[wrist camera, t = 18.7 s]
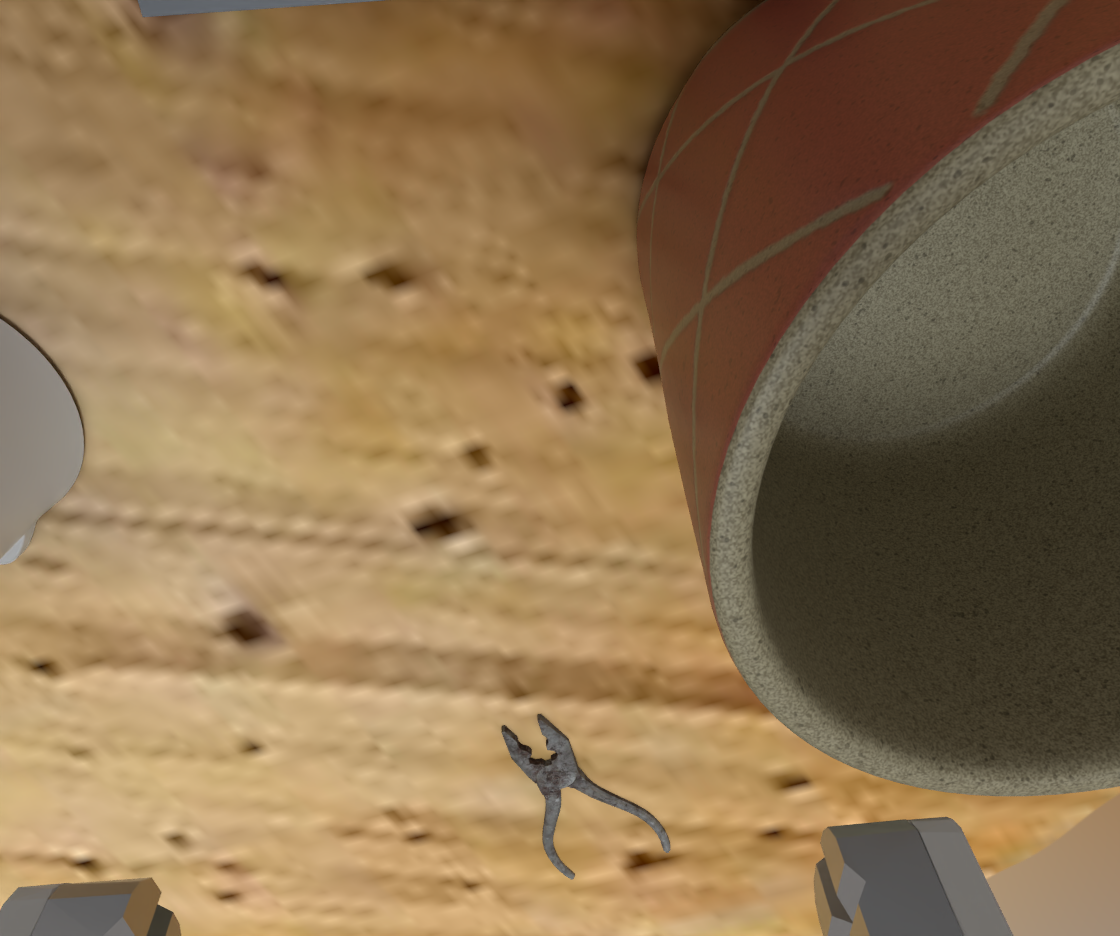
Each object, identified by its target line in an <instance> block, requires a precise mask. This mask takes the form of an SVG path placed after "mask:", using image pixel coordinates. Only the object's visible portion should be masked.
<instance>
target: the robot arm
mask: <svg viewBox="0 0 1120 936" xmlns="http://www.w3.org/2000/svg"><path fill="white" fill-rule="evenodd" d="M83 455H84V436H83V429H82V424H81V420H80V417H79V413H78V410H77V408H76V405H75V403H74V401H73V399H72V396H71V394H70V392H69V391H68V389H67V387H66V385H65V384H64V382H63V381H62V379H61V378H60V376H59V375H58V373H57V372H56V371H55V369H54V368H53V367H52V365H51V364H50V363H49V362H48V361H47V359H46V358H45V357H44V356H43V355H42V354H41V353H40V352H39V351H38V350H37V349H36V348H35V347H34V346H33V345H32V344H31V343H30V342H29V341H28V340H27V339H26V338H25V337H23V336H22V335H21V334H20V333H19V332H17V331H16V330H15V329H14V328H12V327H11V326H10V325H8V324H7V323H6V322H4V321H3V320H1V319H0V564H9V563H11V562H13V561H15V560H16V559H17V558H18V557H19V556H20V555H21V554H22V553H23V552H24V551H25V550H26V548H27V547H28V545H29V543H30V541H31V539H32V535H33V532H34V529H35V525H36V522H37V520H38V519H39V518H40V517H41V516H42V515H43V514H44V513H45V512H47V511H48V510H49V509H50V508H51V507H52V506H54V505H55V504H56V503H57V502H58V501H60V500H61V499H62V498H63V497H64V496H65V495H66V493H67V492H68V491H69V490H70V488H71V487H72V485H73V484H74V482H75V480H76V479H77V476H78V474H79V471H80V469H81V465H82V461H83ZM820 844H821V847H822V850H823V853H824V858H823V859H822V860H821V861H819V862H818V863H817V864H816V868H815V875H814V892H815V904H816V908H817V913H818V918H819V923H820V926H821V930H822V933H823V936H1013V934H1012V932H1011V930H1010V928H1009V926H1008V924H1007V921H1006V920H1005V918H1004V915H1003V913H1002V911H1001V909H1000V907H999V905H998V903H997V901H996V899H995V897H994V895H993V893H992V891H991V889H990V887H989V885H988V883H987V880H986V878H985V876H984V874H983V872H982V870H981V868H980V866H979V864H978V862H977V860H976V858H975V856H974V854H973V852H972V850H971V848H970V846H969V843H968V841H967V839H966V837H965V835H964V833H963V831H962V829H961V827H960V826H959V825H958V824H957V823H956V822H955V821H954V820H953V819H951V818H948V817H939V818H926V819H914V820H895V821H885V822H874V823H864V824H853V825H843V826H832V827H827V828H826V829H824V830H823V833H822V837H821V842H820ZM160 895H161V891H160V889H159V888H158V886H157V885H156V883H155V882H154V880H153V879H152V878H139V879H126V880H112V881H99V882H86V883H63V884H51V885H40V886H29V887H18V888H17V890H16V891H15V892H14V893H13V894H12V895H11V896H10V897H9V898H8V900H7V901H6V902H5V903H4V904H3V906H2V908H1V910H0V936H181V930H180V925H179V922H178V920H177V918H176V917H175V915H174V913H173V912H172V911H170V910H168V909H166V908H164V907H162V906H160V905H158V901H159V898H160Z"/></svg>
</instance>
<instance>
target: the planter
mask: <svg viewBox="0 0 1120 936" xmlns="http://www.w3.org/2000/svg"><path fill="white" fill-rule="evenodd" d="M637 252H638V264H639V272H640V279H641V283H642V288H643V293H644V297H645V301H646V305H647V310H648V314H649V318H650V323H651V328H652V333H653V338H654V343H655V348H656V353H657V357H658V363H659V369H660V374H661V380H662V386H663V391H664V397H665V403H666V408H667V414H668V420H669V424H670V429H671V433H672V438H673V442H674V447H675V451H676V456H677V460H678V465H679V469H680V473H681V478H682V482H683V487H684V491H685V495H686V500H687V504H688V508H689V512H690V516H691V521H692V525H693V529H694V533H695V537H696V541H697V546H698V550H699V554H700V558H701V562H702V566H703V571H704V575H705V580H706V584H707V589H708V593H709V597H710V602H711V606H712V610H713V613H714V616H715V619H716V622H717V625H718V627H719V630H720V633H721V636H722V639H723V641H724V643H725V646H726V648H727V650H728V652H729V654H730V656H731V658H732V660H733V662H734V664H735V665H736V667H737V669H738V670H739V672H740V674H741V675H742V677H743V679H744V680H745V681H746V683H747V684H748V686H749V687H750V688H751V689H752V691H753V692H754V693H755V695H756V696H757V697H758V699H759V700H760V701H761V702H762V703H763V704H764V706H765V707H766V708H767V709H768V710H769V711H770V712H771V713H772V714H773V715H774V716H775V717H776V718H777V719H778V720H779V721H780V722H782V723H783V724H784V725H785V726H786V727H787V728H789V729H790V730H791V731H792V732H793V733H795V734H796V735H797V736H799V737H800V738H802V739H803V740H804V741H806V742H807V743H809V744H810V745H812V746H813V747H815V748H817V749H818V750H820V751H822V752H823V753H825V754H827V755H829V756H830V757H832V758H834V759H836V760H838V761H841V762H843V763H845V764H847V765H849V766H851V767H853V768H856V769H859V770H861V771H864V772H867V773H869V774H872V775H874V776H878V777H881V778H884V779H888V780H891V781H894V782H898V783H902V784H906V785H910V786H915V787H919V788H924V789H930V790H936V791H943V792H950V793H959V794H969V795H985V796H1038V795H1056V794H1066V793H1075V792H1085V791H1092V790H1099V789H1105V788H1112V787H1118V786H1120V0H765V1H763V2H762V3H760V4H759V5H757V6H756V7H755V8H753V9H752V10H751V11H749V12H748V13H747V14H745V15H744V16H743V17H742V18H741V19H739V20H738V21H737V22H736V23H735V24H734V25H732V26H731V27H730V28H729V29H728V30H727V31H726V32H725V33H724V34H723V35H722V36H721V37H720V38H719V39H718V40H717V41H716V42H715V43H714V45H713V46H712V47H711V48H710V49H709V50H708V51H707V53H706V54H705V55H704V57H703V58H702V60H701V61H700V62H699V64H698V66H697V67H696V69H695V70H694V72H693V73H692V75H691V76H690V78H689V80H688V81H687V83H686V84H685V86H684V88H683V89H682V91H681V93H680V94H679V96H678V98H677V99H676V101H675V103H674V105H673V106H672V108H671V110H670V112H669V114H668V116H667V118H666V120H665V122H664V124H663V126H662V128H661V130H660V133H659V135H658V137H657V139H656V142H655V144H654V147H653V150H652V153H651V156H650V159H649V162H648V165H647V169H646V173H645V176H644V180H643V185H642V190H641V195H640V201H639V209H638V218H637Z"/></svg>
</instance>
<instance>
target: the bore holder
mask: <svg viewBox="0 0 1120 936" xmlns="http://www.w3.org/2000/svg"><path fill="white" fill-rule="evenodd" d="M368 1H383V0H138V3H139V6H140V9H141V13H142V16H143V17H152V16H167V15H181V14H195V13H210V12H224V11H239V10H253V9H267V8H282V7H296V6H311V5H325V4H340V3H354V2H368Z"/></svg>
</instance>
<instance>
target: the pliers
mask: <svg viewBox="0 0 1120 936" xmlns="http://www.w3.org/2000/svg"><path fill="white" fill-rule="evenodd" d="M538 723H539V726H540V729H541V732H542V735H544V736H545V737H546V738H547V740H546V747H547V750H552V751H555V752H556V753H555V754H553V755H551V759H549V760H546V761H544V760H543V759H542V758H541V759H533V758H530V756H531V755H532V749H531V748H530V747H529V746H525V745H522V744H521V743H520V742H519V741H518V738H517V736H516V735H515V734H514V733H513V732H512V731H510V730H509V729H508V728H507V727H506V726H505V725H504V726H502V734H503V737H504V740H505V742H506V745H507V747H508V750H509V753H510V755H511V758H512V759H513V760H514V762H515V763H516V764H517V765H518V766H519V767H520V768H521V769H522V770H523V771H524V773H525V774H526V775H527V776H528V777H529V778H530V779H531V780H532V781H534V782H535V783H537V785H538V787H539V789H540V791H541V793H542V795H544V797H545V799H546V812H545V819H544V827H543V845H544V849H545V851H546V853H547V855H548V857H549V859H550V860H551V862H552V863H553V864H554V866H555V867H556V868H557V869H558V870H559V871H560V872H562V873H563V874H564V875H565V876H567V877H568V878H570V879H574V876H575V874H574V873H573V872H572V871H571V870H570V869H569V868H568V867H567V866H565V865H564V863H563V862H562V861H561V860H560V859H559V857H558V855H557V853H556V851H555V849H554V846H553V835H554V830H555V826H556V822H557V819H558V816H559V812H560V807H561V790H560V789H562V788H565V787H570V788H575V789H577V790H579V791H581V792H583V793H584V794H586V795H588V796H590V797H592V798H594V799H597V800H599V801H601V802H604V803H607V804H609V805H612V806H614V807H617V808H620V809H622V810H625V811H627V812H629V813H631V814H634V815H636V816H638V817H639V818H641V819H642V820H644V821H645V822H646V823H648V824H649V825H650V826H651V827H652V828H653V830H654V831H655V832H656V833H657V835H658V837H659V838H660V840H661V844H662V847H663V850H664V851H665V852H666V853H669V851H670V842H669V839H668V836H667V834H666V832H665V830H664V828H663V827H662V825H661V824H660V823H659V821H658V820H657V819H656V818H655V817H654V816H653V815H652V814H650V813H649V812H648V811H646V810H645V809H643V808H641V807H640V806H638V805H636V804H634V803H632V802H630V801H628V800H626V799H623V798H621V797H619V796H617V795H615V794H613V793H611V792H609V791H607V790H605V789H603V788H601V787H599V786H598V785H596V784H595V783H593V782H592V781H591V780H590V779H589V778H588V777H587V776H586V775H585V774H584V773H583V772H582V770H581V769H580V768H579V767H578V765H577V762H576V759H575V756H574V753H573V751H572V748H571V745H570V742H569V739H568V738H567V737H566V736H565V735H564V734H563V733H562V732H561V731H559V730H558V729H557V728H556V727H555V726H554V725H553V724H551V723H550V722H549V721H548V720H547V719H546V718H545V717H544V716H542V715H541V714H538Z"/></svg>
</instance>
